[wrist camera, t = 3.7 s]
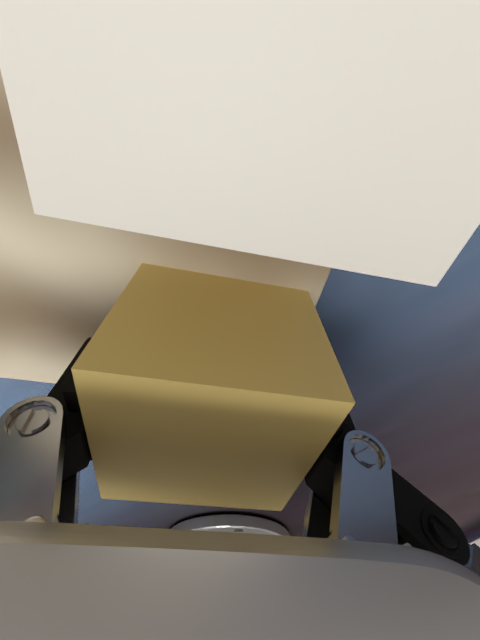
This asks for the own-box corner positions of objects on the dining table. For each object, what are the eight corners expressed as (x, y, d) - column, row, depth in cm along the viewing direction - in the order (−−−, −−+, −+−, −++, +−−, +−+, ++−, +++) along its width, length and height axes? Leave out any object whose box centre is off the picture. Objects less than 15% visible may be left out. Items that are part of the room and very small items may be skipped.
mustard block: (267, 394, 14) (281, 510, 10) (144, 380, 13) (101, 498, 9) (308, 291, 10) (355, 403, 6) (142, 263, 9) (71, 368, 5)
